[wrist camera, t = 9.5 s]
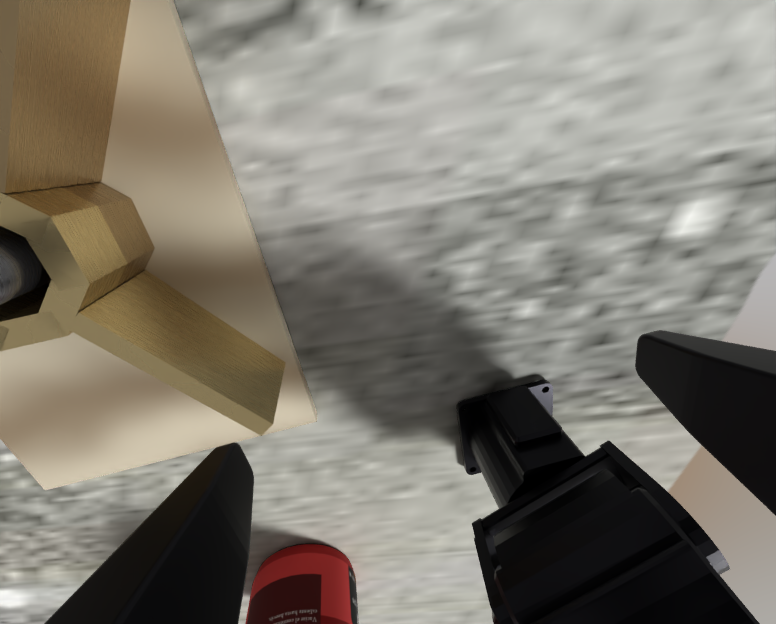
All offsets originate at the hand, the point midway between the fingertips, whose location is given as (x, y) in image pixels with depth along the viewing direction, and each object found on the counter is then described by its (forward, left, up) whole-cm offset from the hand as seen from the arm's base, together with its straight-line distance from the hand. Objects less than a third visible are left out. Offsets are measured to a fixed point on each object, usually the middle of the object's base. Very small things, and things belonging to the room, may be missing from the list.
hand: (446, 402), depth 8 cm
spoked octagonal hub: (+4, +11, -12) cm, 16 cm away
